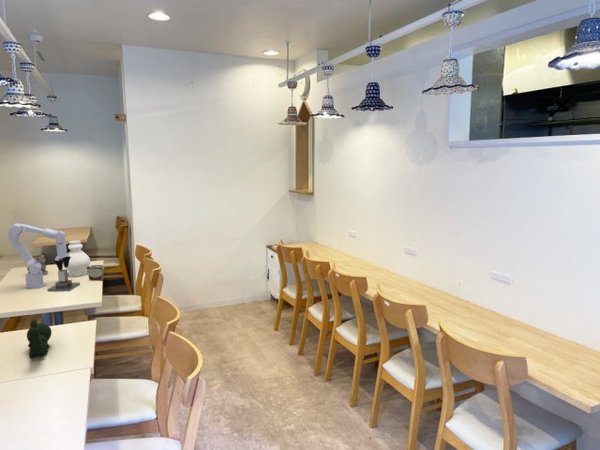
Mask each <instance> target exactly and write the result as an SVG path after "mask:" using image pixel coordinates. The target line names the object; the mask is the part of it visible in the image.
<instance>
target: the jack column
mask: <svg viewBox="0 0 600 450" xmlns="http://www.w3.org/2000/svg"><path fill="white" fill-rule="evenodd" d="M68 274H69V273H68V270H67V269H62V270H59V269H58V271H57V277H58V281H59V282H62V281H67V280H69V276H68Z"/></svg>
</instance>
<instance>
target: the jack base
mask: <svg viewBox="0 0 600 450" xmlns="http://www.w3.org/2000/svg"><path fill="white" fill-rule="evenodd" d="M80 285H81V283H80V282H73V281H72V279H68V280H67V281H62V282H59V280H58V281H56V282H55V283H54V285H53V286H50V287H48V288H47V289H46V290H47V292H71V291H72V290H73V289H76V288H77V287H79V286H80Z"/></svg>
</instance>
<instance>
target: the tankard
mask: <svg viewBox="0 0 600 450" xmlns="http://www.w3.org/2000/svg"><path fill="white" fill-rule="evenodd" d="M31 256H32V257H33V258H34V259H35V260H36V261H37V262H39V263H40V264H41V265H42V269H41V271H42V274H43V277H45V276H47V275H48V273H49V272H48V270H47V264H46V261H47V260H46V257H45V255H44V254H34V255H31ZM26 269H27V274H30V272H29V268H28V267H27V266H26ZM27 274H26V275H27Z"/></svg>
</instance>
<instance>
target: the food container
mask: <svg viewBox="0 0 600 450" xmlns="http://www.w3.org/2000/svg"><path fill="white" fill-rule="evenodd" d="M104 270H105V266H104V265H102V264H90V265H89V266H87V268H86V270H85V271H86V272H87V276H88V280H89V281H91V282H92V281H93V282H95V281H99V282H102V281H104Z"/></svg>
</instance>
